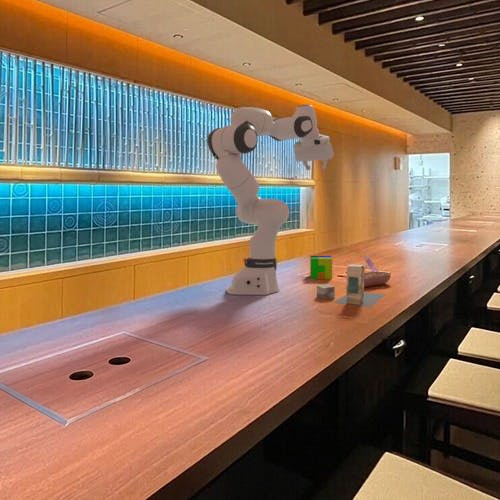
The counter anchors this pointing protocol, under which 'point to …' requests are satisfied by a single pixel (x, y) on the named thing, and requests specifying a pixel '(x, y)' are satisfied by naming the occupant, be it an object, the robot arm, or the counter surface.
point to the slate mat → (368, 299)
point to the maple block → (355, 284)
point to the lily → (370, 264)
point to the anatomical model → (376, 278)
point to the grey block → (325, 291)
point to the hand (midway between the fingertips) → (316, 169)
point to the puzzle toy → (321, 267)
